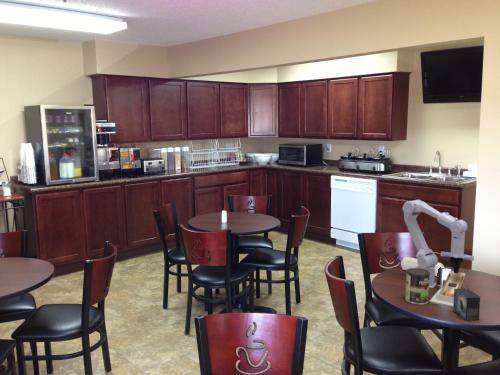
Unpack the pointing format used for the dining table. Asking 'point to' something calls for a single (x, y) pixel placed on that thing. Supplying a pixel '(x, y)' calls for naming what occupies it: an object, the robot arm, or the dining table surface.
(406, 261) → the crystal
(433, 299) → the lever base
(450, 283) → the lever
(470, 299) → the small box
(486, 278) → the dining table surface
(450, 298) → the beige flat block
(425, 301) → the coffee can
